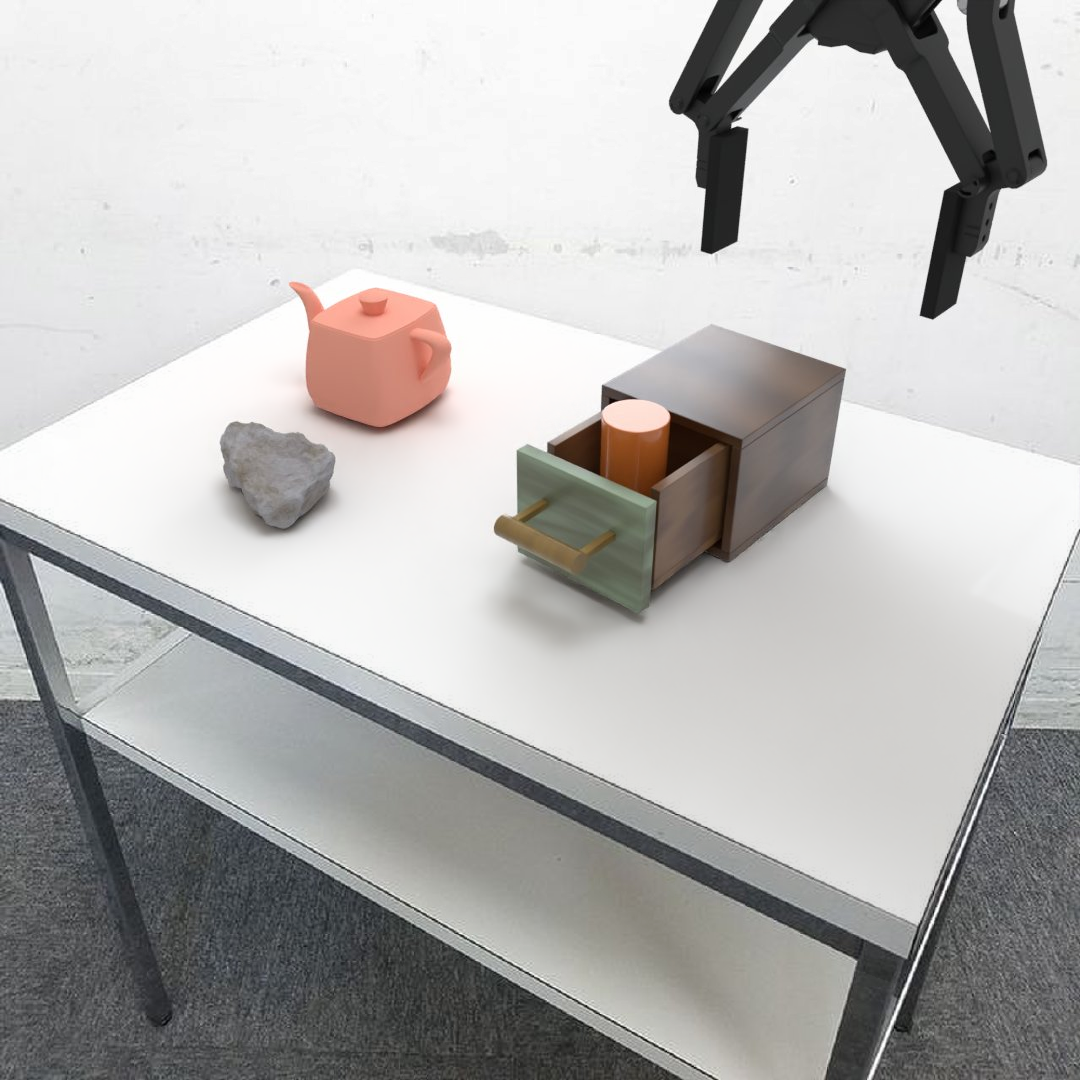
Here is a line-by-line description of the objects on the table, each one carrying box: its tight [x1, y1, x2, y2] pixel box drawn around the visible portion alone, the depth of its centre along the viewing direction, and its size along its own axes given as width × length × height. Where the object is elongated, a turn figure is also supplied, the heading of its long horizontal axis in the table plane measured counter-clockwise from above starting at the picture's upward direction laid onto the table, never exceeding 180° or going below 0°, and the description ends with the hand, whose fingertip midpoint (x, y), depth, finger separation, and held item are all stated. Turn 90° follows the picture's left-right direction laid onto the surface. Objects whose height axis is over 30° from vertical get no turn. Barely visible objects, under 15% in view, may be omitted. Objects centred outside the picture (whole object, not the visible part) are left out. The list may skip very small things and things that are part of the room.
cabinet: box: [600, 323, 847, 563], centre depth 94 cm, size 15×13×11 cm
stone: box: [219, 420, 337, 530], centre depth 94 cm, size 10×8×6 cm
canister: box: [600, 399, 671, 498], centre depth 86 cm, size 5×5×10 cm
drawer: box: [493, 410, 732, 614], centre depth 86 cm, size 18×11×9 cm, turn 139°
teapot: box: [288, 281, 452, 428], centre depth 107 cm, size 12×18×10 cm, turn 57°
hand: (822, 277), depth 65 cm, fingers open, 13 cm apart
